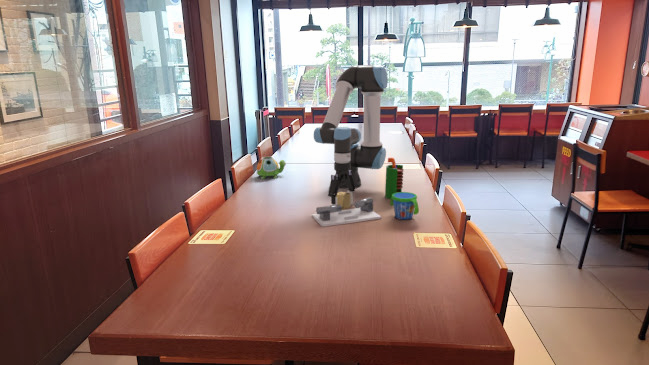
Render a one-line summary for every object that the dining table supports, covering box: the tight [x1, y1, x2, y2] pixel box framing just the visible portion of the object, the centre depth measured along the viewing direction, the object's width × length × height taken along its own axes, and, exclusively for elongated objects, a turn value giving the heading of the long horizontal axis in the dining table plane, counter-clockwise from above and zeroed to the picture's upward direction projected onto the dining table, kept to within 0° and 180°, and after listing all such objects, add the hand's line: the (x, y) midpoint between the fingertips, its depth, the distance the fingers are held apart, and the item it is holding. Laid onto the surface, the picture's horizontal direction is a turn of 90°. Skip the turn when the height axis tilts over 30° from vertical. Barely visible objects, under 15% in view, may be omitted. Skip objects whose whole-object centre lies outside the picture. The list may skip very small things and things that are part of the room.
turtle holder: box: [256, 156, 286, 180], centre depth 257 cm, size 12×18×12 cm
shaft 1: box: [315, 204, 342, 221], centre depth 181 cm, size 10×5×6 cm, turn 110°
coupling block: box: [336, 191, 351, 210], centre depth 198 cm, size 5×5×7 cm
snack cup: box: [389, 191, 419, 220], centre depth 184 cm, size 16×10×10 cm
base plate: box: [311, 207, 382, 228], centre depth 186 cm, size 14×27×2 cm, turn 110°
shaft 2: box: [353, 197, 374, 212], centre depth 190 cm, size 9×5×6 cm, turn 130°
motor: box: [384, 157, 404, 200], centre depth 213 cm, size 10×9×20 cm
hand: (342, 207), depth 199 cm, fingers open, 11 cm apart
